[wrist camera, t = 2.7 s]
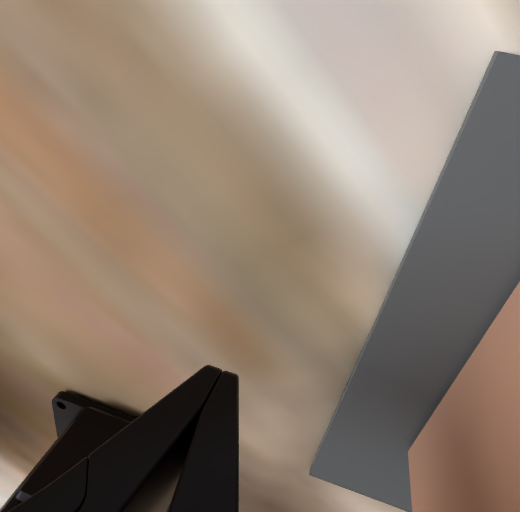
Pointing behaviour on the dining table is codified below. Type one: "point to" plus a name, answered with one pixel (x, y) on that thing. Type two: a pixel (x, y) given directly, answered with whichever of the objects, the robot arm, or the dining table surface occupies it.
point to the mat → (435, 299)
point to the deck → (475, 430)
